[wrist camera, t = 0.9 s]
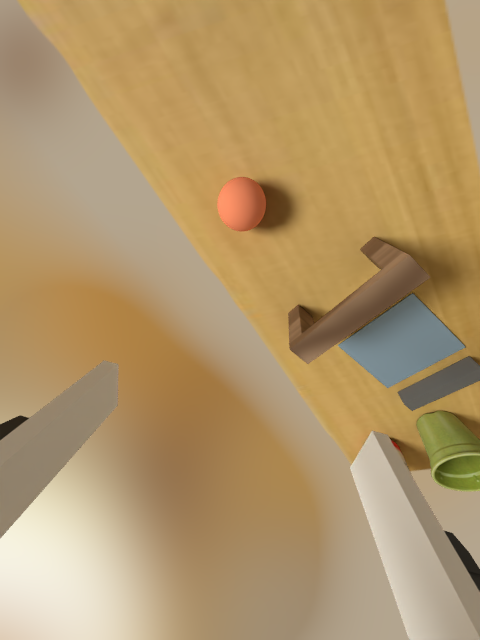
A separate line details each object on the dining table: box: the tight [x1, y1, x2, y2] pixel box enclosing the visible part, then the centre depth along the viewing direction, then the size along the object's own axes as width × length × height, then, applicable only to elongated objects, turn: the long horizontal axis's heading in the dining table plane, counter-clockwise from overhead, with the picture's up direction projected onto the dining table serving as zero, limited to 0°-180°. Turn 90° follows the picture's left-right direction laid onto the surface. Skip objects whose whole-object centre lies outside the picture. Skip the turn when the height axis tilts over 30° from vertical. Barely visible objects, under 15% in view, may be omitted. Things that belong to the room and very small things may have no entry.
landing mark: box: [338, 293, 465, 388], centre depth 34 cm, size 12×12×1 cm
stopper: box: [398, 356, 480, 411], centre depth 35 cm, size 11×2×2 cm, turn 142°
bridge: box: [288, 237, 430, 364], centre depth 28 cm, size 3×14×9 cm, turn 142°
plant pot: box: [416, 411, 480, 491], centre depth 36 cm, size 9×9×9 cm
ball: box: [218, 177, 266, 231], centre depth 26 cm, size 6×6×6 cm
